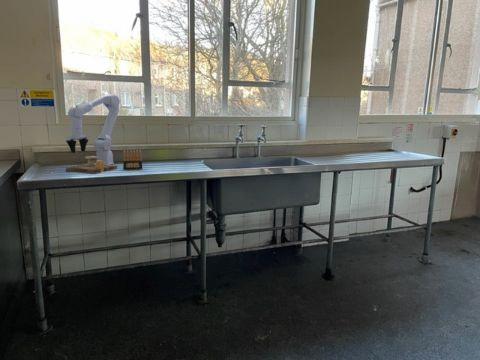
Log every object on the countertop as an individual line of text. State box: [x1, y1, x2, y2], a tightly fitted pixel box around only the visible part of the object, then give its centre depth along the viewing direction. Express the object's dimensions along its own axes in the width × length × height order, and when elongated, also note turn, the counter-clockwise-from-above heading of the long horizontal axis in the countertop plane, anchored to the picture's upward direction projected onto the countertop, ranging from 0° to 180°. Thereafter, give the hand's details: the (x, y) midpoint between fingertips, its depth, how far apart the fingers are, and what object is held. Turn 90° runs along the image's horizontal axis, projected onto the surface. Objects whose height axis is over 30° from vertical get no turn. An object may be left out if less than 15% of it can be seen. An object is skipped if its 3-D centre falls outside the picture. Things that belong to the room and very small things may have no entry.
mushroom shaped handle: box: [84, 155, 97, 166], centre depth 208 cm, size 6×6×5 cm
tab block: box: [94, 160, 105, 173], centre depth 200 cm, size 3×3×6 cm
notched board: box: [65, 162, 118, 175], centre depth 205 cm, size 18×20×2 cm
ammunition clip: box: [122, 148, 143, 171], centre depth 209 cm, size 11×2×12 cm, turn 109°
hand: (78, 152), depth 208 cm, fingers open, 7 cm apart
